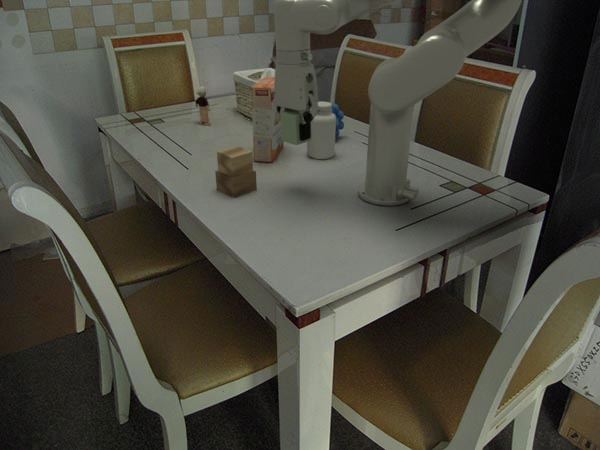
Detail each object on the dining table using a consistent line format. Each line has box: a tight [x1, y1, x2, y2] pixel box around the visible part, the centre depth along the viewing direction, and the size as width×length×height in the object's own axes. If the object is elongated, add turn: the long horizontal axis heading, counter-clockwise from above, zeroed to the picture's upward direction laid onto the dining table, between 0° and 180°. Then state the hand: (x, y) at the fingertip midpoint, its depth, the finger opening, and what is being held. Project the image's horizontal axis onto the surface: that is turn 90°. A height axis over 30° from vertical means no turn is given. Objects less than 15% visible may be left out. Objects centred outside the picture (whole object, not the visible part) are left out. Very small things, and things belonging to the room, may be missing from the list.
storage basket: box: [232, 67, 287, 120], centre depth 181 cm, size 24×16×15 cm
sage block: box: [280, 109, 312, 146], centre depth 119 cm, size 5×5×7 cm
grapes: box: [331, 103, 345, 138], centre depth 156 cm, size 12×7×12 cm, turn 124°
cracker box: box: [252, 77, 285, 163], centre depth 143 cm, size 14×6×21 cm, turn 168°
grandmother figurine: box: [194, 86, 212, 126], centre depth 172 cm, size 8×4×13 cm, turn 58°
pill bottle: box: [306, 101, 336, 160], centre depth 144 cm, size 8×8×15 cm
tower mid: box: [216, 145, 254, 178], centre depth 122 cm, size 6×6×5 cm
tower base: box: [215, 169, 258, 199], centre depth 124 cm, size 7×7×5 cm
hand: (296, 136), depth 120 cm, fingers closed on sage block, 5 cm apart
